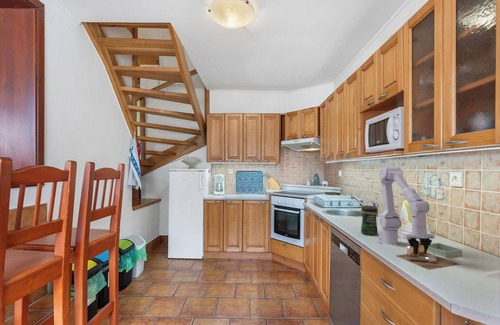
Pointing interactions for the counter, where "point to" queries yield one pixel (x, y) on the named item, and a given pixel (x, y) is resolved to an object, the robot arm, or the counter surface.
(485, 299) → the counter surface
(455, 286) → the counter surface
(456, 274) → the counter surface
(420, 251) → the pin
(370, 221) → the coffee jar
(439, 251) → the tray
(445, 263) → the crank base
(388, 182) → the robot arm
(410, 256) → the crank
